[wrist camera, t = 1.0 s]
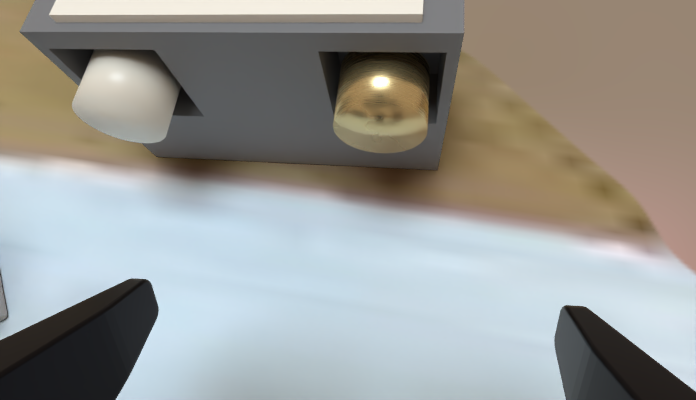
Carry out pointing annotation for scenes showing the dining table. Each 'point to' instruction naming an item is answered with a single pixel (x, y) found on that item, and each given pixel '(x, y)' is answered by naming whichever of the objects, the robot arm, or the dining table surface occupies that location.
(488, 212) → the dining table surface
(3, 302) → the coffee box
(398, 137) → the brass button
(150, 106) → the cream button
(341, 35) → the console
